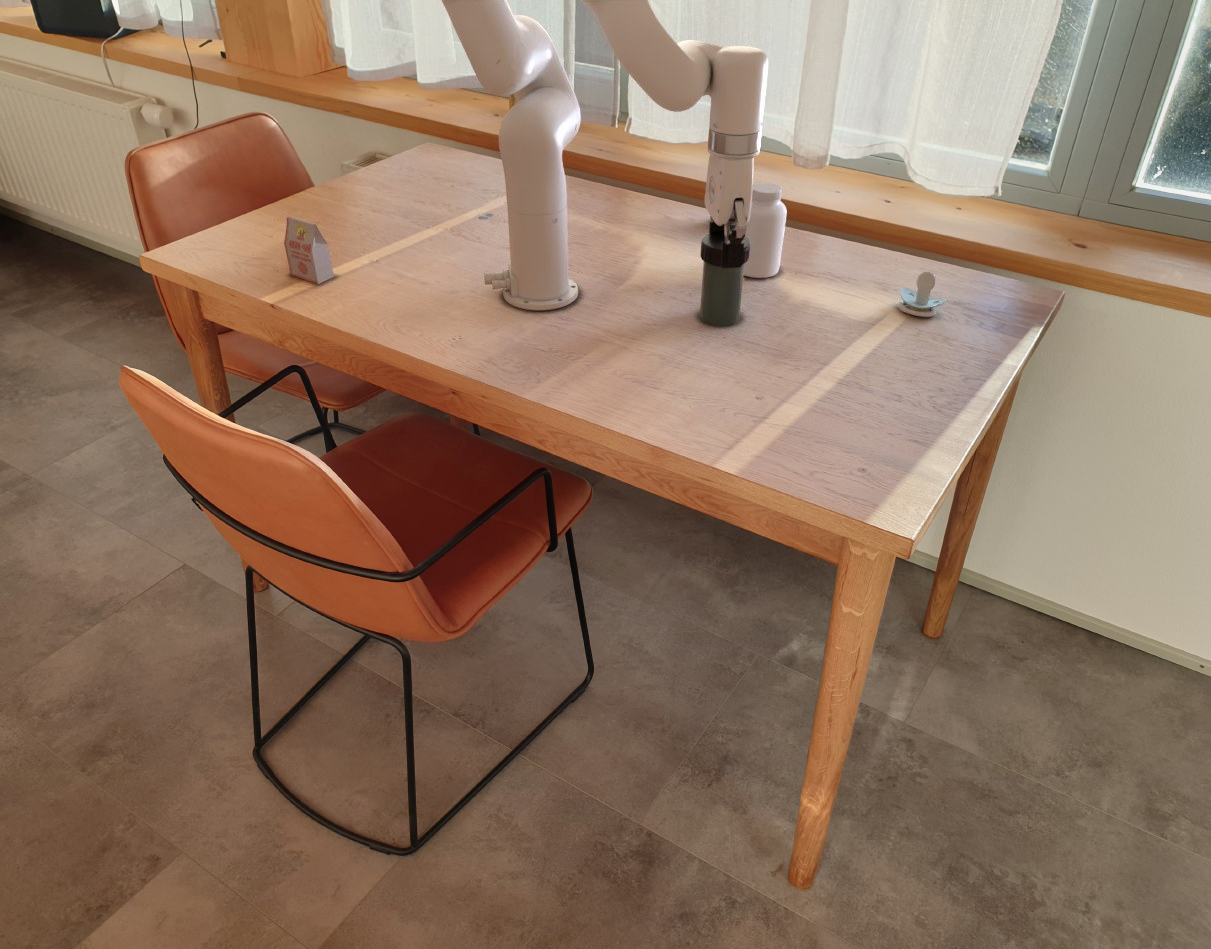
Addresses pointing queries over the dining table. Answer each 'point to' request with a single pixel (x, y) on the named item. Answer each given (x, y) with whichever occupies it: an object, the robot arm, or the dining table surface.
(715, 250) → the lid
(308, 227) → the white snack box
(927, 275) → the pacifier
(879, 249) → the dining table surface
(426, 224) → the dining table surface
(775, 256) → the pill bottle
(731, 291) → the jar
